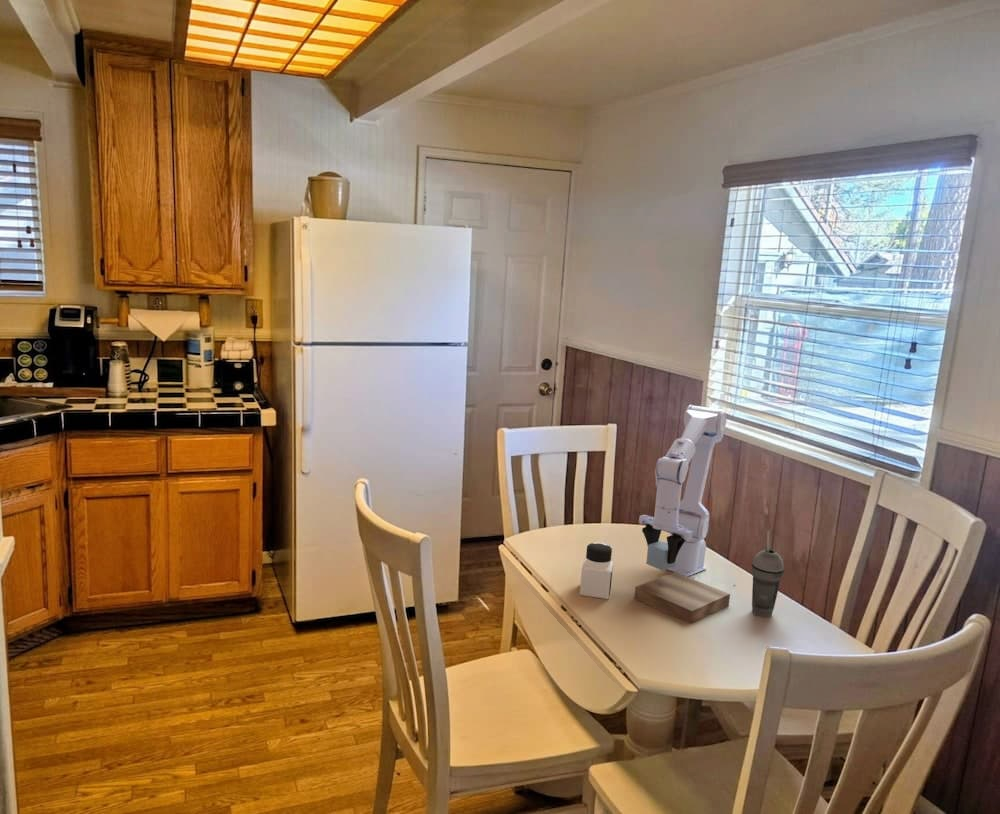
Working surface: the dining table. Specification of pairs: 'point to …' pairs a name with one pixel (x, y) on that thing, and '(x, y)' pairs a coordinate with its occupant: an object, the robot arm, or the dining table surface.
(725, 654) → the dining table surface
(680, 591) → the walnut plinth
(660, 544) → the slate block
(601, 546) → the medicine bottle
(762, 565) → the beverage cup
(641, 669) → the dining table surface
